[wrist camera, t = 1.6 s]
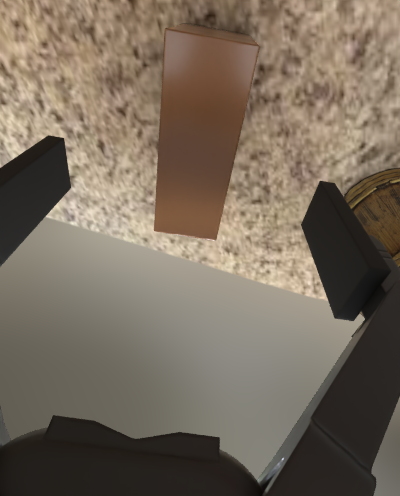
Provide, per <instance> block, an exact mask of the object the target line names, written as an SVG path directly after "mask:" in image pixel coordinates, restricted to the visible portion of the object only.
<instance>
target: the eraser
mask: <svg viewBox="0 0 400 496" xmlns="http://www.w3.org/2000/svg"><path fill="white" fill-rule="evenodd" d="M259 49H260V46H259V45H258V44H257V43H256V41H255V40H254V39H253V38H252V37H251V36H250V35H247V34H242V33H236V32H231V31H225V30H220V29H215V28H209V27H204V26H198V25H193V24H187V23H183V24H180V25H176V26H173V27H169V28H166V29H165V38H164V56H163V74H162V93H161V111H160V130H159V148H158V166H157V185H156V203H155V222H154V231H156V232H163V233H169V234H175V235H182V236H188V237H194V238H201V239H207V240H214V241H216V239H217V234H218V230H219V226H220V221H221V217H222V212H223V208H224V203H225V199H226V195H227V190H228V186H229V181H230V177H231V172H232V168H233V164H234V159H235V155H236V150H237V146H238V141H239V137H240V133H241V128H242V124H243V119H244V115H245V111H246V106H247V102H248V97H249V93H250V88H251V84H252V80H253V75H254V71H255V66H256V62H257V57H258V53H259Z"/></svg>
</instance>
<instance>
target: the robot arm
mask: <svg viewBox="0 0 400 496" xmlns="http://www.w3.org/2000/svg"><path fill="white" fill-rule="evenodd" d="M70 188H71V184H70V177H69V170H68V163H67V156H66V149H65V142H64V138H60V137H54V136H47V137H45V138H44V139H42V140H41V141H40V142H38V143H37V144H35V145H34V146H32V147H31V148H29V149H28V150H26V151H25V152H23V153H22V154H20V155H19V156H17V157H16V158H14V159H13V160H11V161H10V162H9V163H7V164H6V165H4V166H3V167H1V168H0V266H1V265H2V264H3V263H4V262H5V261H6V260H7V259H8V257H9V256H10V255H11V254H12V253H13V252H14V251H15V250H16V249H17V247H18V246H19V245H20V244H21V243H22V242H23V241H24V240H25V238H26V237H27V236H28V235H29V234H30V233H31V232H32V231H33V230H34V229H35V227H36V226H37V225H38V224H39V223H40V222H41V221H42V220H43V218H44V217H45V216H46V215H47V214H48V213H49V212H50V211H51V210H52V208H53V207H54V206H55V205H56V204H57V203H58V202H59V201H60V200H61V198H62V197H63V196H64V195H65V194H66V193H67V192H68V191H69V190H70ZM301 226H302V229H303V232H304V234H305V237H306V240H307V243H308V245H309V248H310V251H311V254H312V257H313V259H314V262H315V265H316V268H317V270H318V273H319V276H320V279H321V282H322V284H323V287H324V290H325V293H326V295H327V298H328V301H329V304H330V307H331V309H332V312H333V315H334V318H336V319H343V320H349V321H354V320H355V318H356V317H357V316H358V315H359V313H360V312H362V314H363V316H364V318H365V320H364V321H363V323H362V324H361V325H360V326H359V328H358V329H357V330H356V332H355V333H354V334H353V335H352V339H351V341H350V342H349V344H348V345H347V347H346V348H345V350H344V351H343V353H342V354H341V356H340V357H339V359H338V360H337V362H336V363H335V365H334V366H333V368H332V369H331V371H330V373H329V374H328V376H327V377H326V379H325V380H324V382H323V383H322V385H321V386H320V388H319V389H318V391H317V392H316V394H315V395H314V397H313V398H312V400H311V402H310V403H309V405H308V406H307V408H306V409H305V411H304V412H303V414H302V415H301V417H300V418H299V420H298V421H297V423H296V425H295V426H294V427H293V429H292V431H291V432H290V434H289V435H288V437H287V438H286V440H285V441H284V443H283V444H282V446H281V447H280V449H279V450H278V452H277V453H276V455H275V456H274V458H273V459H272V461H271V462H270V463H269V465H268V466H267V467H266V469H265V470H264V471H263V473H262V474H261V476H260V477H259V478H258V480H256V479H255V478H254V476H253V475H252V474H251V473H250V472H249V471H248V469H247V468H245V466H243V464H241V463H240V462H239V461H238V460H237V459H235V458H234V457H232V456H231V455H229V454H228V453H226V452H224V451H222V450H220V449H219V447H220V445H219V444H220V438H219V437H212V436H205V435H197V434H189V433H182V432H178V433H171V434H165V435H159V436H153V437H147V438H140V439H134V438H130V437H128V436H126V435H124V434H122V433H120V432H117V431H115V430H113V429H111V428H109V427H107V426H104V425H102V424H100V423H98V422H96V421H91V420H84V419H76V418H69V417H62V416H54V415H53V417H52V419H51V422H50V424H49V426H48V428H43V429H39V430H35V431H32V432H29V433H27V434H24V435H21V436H19V437H17V438H15V439H13V440H10V437H9V434H8V431H7V429H6V426H5V423H4V420H3V416H2V412H1V407H0V496H373V495H374V491H375V488H376V478H375V477H374V476H373V475H372V474H371V469H372V466H373V463H374V460H375V458H376V455H377V453H378V450H379V447H380V445H381V443H382V440H383V437H384V435H385V432H386V430H387V427H388V425H389V422H390V420H391V417H392V415H393V412H394V409H395V407H396V404H397V402H398V399H399V397H400V268H399V267H398V265H397V264H396V262H395V261H394V260H393V259H392V257H391V255H390V254H389V253H387V252H388V251H387V249H386V248H385V246H384V245H383V244H382V243H381V242H380V241H379V240H378V239H377V238H375V237H374V236H373V235H368V234H367V232H366V231H365V229H364V228H363V226H362V225H361V223H360V222H359V220H358V218H357V217H356V215H355V214H354V212H353V211H352V209H351V208H350V206H349V205H348V203H347V202H346V200H345V198H344V197H343V195H342V194H341V192H340V191H339V189H338V188H337V186H336V185H335V183H330V182H324V181H320V182H319V185H318V187H317V189H316V192H315V194H314V196H313V199H312V201H311V203H310V205H309V208H308V210H307V212H306V215H305V217H304V219H303V221H302V224H301Z"/></svg>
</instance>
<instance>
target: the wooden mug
mask: <svg viewBox="0 0 400 496" xmlns="http://www.w3.org/2000/svg"><path fill="white" fill-rule="evenodd" d="M344 198H345V200H346V202H347V203H348V205H349V206H350V208H351V209H352V211H353V212H354V214H355V215H356V217H357V218H358V220H359V222H360V223H361V225H362V226H363V228H364V229H365V231H366V232H367V234H368V235H373V236H374V237H375V238H377V239H378V240H379V241H380V242H381V243H382V244H383V245H384V246H385V248H386V249H387V251H388V252H387V253H389V254H390V255H391V257H392V259H393V260H394V261H395V262H396V264H397V265H398V267H399V268H400V169H391V170H388V171H384V172H381V173H378V174H376V175H373V176H371V177H369V178H366V179H364V180H363V181H361V182H360V183H359V184H357V185H356V186H354V187H353V188H352V189H350V191H349V192H348V193H347V194H346V196H345V197H344ZM360 314H361V315H362V316H363V314H362V312H360ZM363 317H364V316H363Z"/></svg>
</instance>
